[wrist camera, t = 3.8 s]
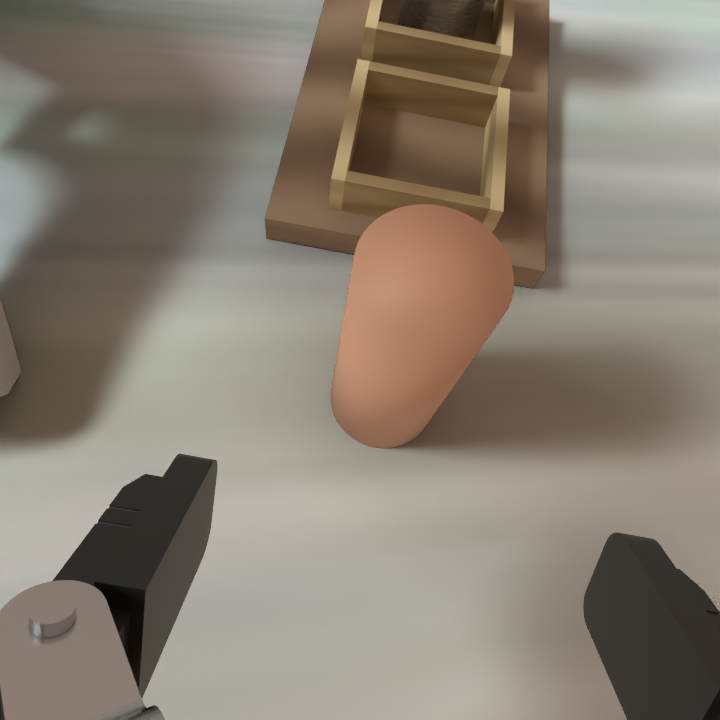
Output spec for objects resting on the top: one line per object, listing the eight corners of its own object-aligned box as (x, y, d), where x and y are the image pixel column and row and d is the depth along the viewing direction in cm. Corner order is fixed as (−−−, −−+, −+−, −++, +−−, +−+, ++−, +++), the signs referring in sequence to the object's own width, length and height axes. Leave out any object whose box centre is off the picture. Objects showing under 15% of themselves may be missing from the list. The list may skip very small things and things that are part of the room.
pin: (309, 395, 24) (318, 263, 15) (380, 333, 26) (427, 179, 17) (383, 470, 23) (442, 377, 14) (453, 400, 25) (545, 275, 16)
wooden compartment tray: (532, 288, 28) (564, 245, 24) (266, 238, 27) (262, 188, 24) (539, 20, 36) (563, -38, 33) (336, -22, 35) (340, -85, 32)
